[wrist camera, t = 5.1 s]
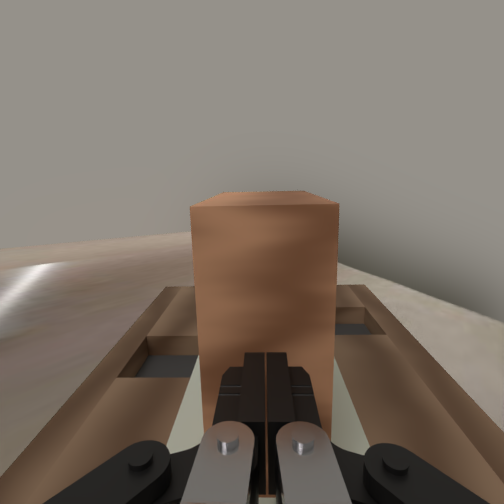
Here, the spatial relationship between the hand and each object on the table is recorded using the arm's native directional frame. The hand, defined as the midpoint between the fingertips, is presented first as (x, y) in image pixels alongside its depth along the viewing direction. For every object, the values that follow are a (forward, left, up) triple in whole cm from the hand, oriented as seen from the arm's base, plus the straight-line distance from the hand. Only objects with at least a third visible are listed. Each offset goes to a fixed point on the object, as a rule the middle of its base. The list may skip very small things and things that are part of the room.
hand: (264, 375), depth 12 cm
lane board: (0, +14, -8) cm, 16 cm away
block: (0, +6, -6) cm, 8 cm away
